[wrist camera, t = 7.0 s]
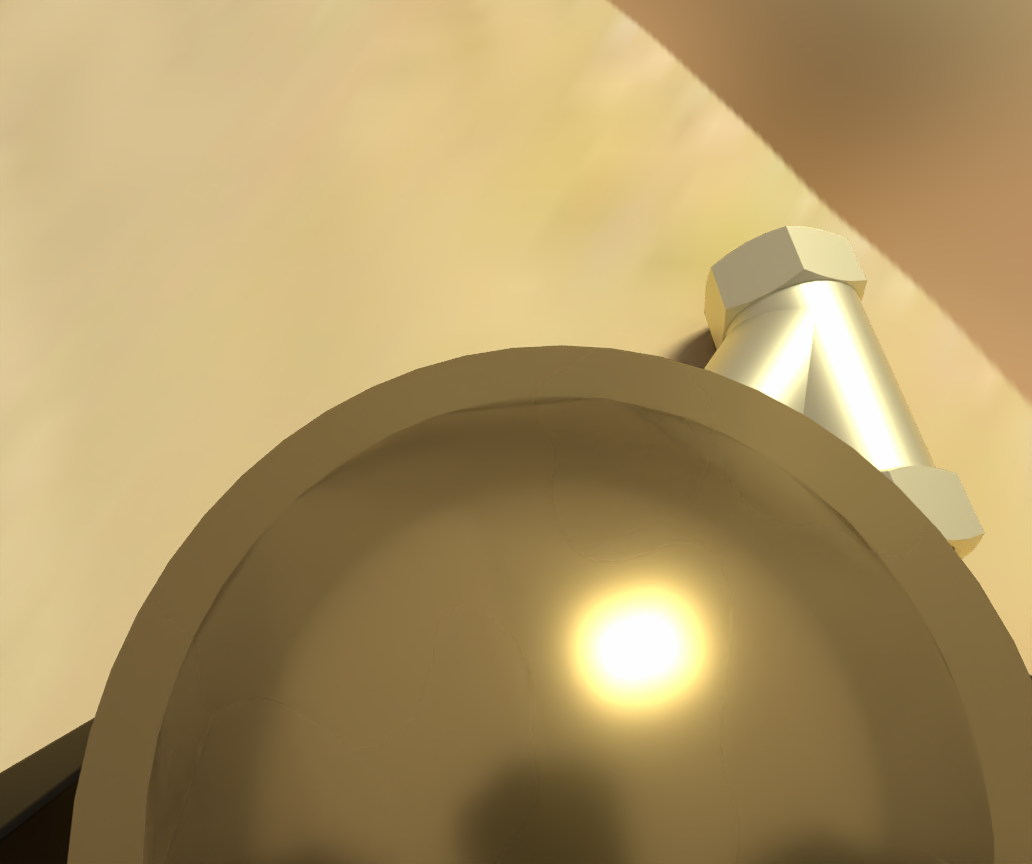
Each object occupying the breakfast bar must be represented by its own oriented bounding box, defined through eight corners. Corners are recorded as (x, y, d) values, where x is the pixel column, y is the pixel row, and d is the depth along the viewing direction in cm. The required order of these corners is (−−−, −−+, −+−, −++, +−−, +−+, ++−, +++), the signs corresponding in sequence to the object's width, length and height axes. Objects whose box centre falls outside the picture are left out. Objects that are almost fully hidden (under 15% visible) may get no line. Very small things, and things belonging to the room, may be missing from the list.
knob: (636, 999, 14) (977, 1957, 2) (397, 862, 15) (-157, 1038, 4) (723, 729, 16) (1141, 517, 4) (506, 628, 17) (377, 256, 6)
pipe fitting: (647, 630, 18) (934, 578, 17) (650, 589, 14) (1010, 523, 14) (583, 352, 21) (819, 304, 21) (573, 265, 18) (856, 206, 17)
